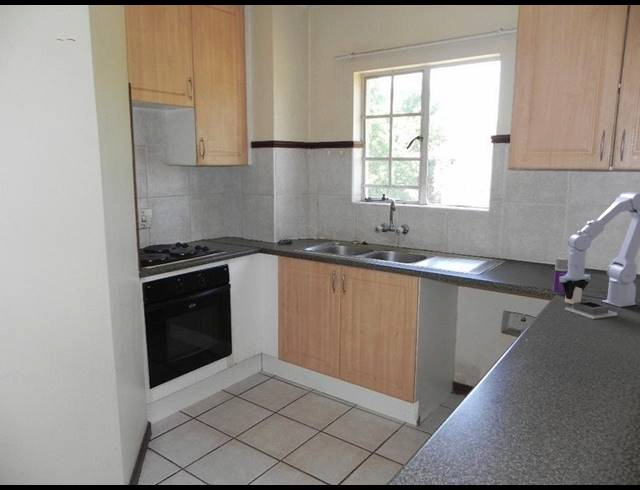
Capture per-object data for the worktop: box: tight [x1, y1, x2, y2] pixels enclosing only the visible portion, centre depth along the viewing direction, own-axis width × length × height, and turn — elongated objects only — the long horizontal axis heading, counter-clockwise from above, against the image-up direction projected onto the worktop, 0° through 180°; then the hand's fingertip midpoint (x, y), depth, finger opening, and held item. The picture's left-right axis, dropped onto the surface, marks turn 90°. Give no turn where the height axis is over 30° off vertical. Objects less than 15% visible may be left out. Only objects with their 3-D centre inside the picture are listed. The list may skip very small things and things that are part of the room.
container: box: [552, 257, 569, 295], centre depth 201 cm, size 5×5×15 cm
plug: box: [564, 286, 583, 305], centre depth 187 cm, size 4×4×7 cm
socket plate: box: [564, 300, 618, 320], centre depth 175 cm, size 12×12×3 cm
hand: (573, 298), depth 187 cm, fingers closed on plug, 4 cm apart
